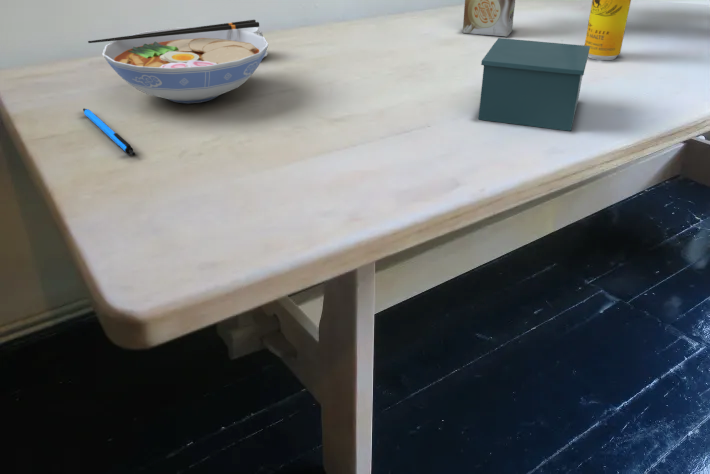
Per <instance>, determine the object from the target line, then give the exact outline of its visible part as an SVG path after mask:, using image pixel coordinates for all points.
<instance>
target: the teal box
mask: <svg viewBox="0 0 710 474" xmlns="http://www.w3.org/2000/svg"><path fill="white" fill-rule="evenodd" d="M589 50H590V46H584V45H583V44H570V43H559V42H550V41H549V42H548V41H539V40H538V41H537V40H525V39H516V38H515V39H513V38H502V37H498V38H497V39H496V41H495V42H494V43H493V45H492V46H491V47H490V49H489V50H488V51H487V53H486V54H485V55H484V57H483V58H482V60H481V62H480V65H481V66H483V71H482V80H481V89H480V100H479V109H478V120H481V121H487V122H496V123H503V124H511V125H520V126H528V127H536V128H544V129H551V130H559V131H566V132H567V131H568V132H571V131H572V128H573V123H574V119H575V116H576V111H577V107H578V104H579V97H580V91H581V88H582V87H581V86H582V82H583V76H584V75H585V71H586V65H587V63H588V58H589V57H588V54H589Z"/></svg>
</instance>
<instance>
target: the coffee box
mask: <svg viewBox="0 0 710 474" xmlns="http://www.w3.org/2000/svg"><path fill="white" fill-rule="evenodd" d="M463 7H464V8H463V20H462V21H463V22H462V33H463V34H472V35H473V34H474V35H482V36H483V35H484V36H496V37H507V38H508V37H509V36H510V34H511V33H512V32H513V31H514V30H513V28H514V25H513V24H514V16H515V7H516V0H464V6H463Z"/></svg>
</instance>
